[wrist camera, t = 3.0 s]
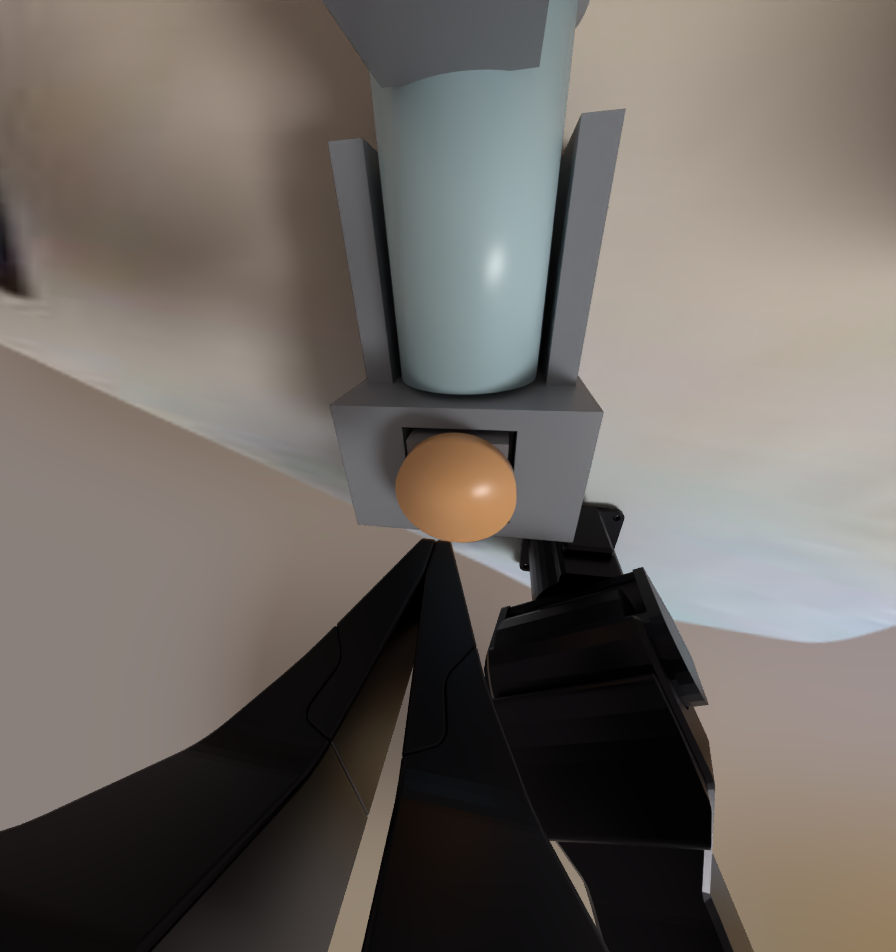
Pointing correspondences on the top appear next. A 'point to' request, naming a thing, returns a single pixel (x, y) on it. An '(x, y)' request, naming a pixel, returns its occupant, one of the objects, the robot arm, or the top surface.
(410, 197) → the cartridge
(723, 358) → the top surface
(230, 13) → the top surface
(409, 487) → the plunger
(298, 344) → the top surface
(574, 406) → the housing
